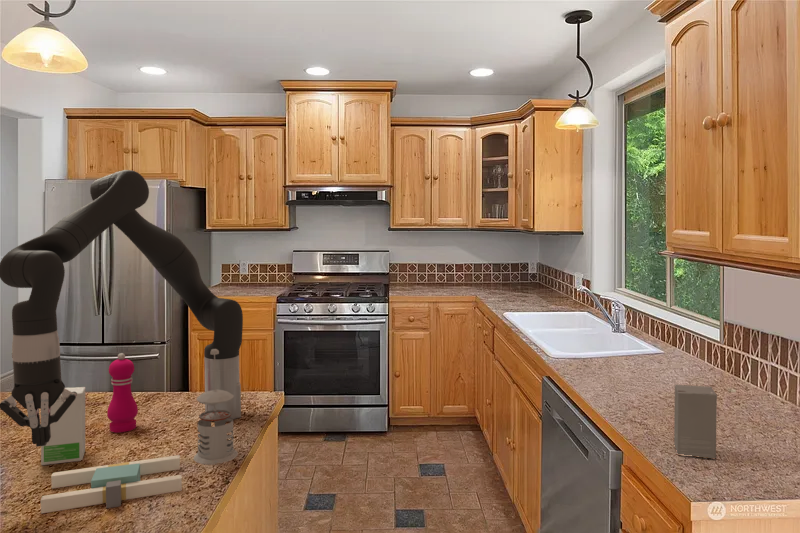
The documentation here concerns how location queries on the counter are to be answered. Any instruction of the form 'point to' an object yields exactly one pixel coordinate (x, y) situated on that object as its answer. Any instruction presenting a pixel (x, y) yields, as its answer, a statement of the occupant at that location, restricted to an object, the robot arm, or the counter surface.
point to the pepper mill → (122, 396)
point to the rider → (116, 475)
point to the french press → (215, 428)
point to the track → (111, 485)
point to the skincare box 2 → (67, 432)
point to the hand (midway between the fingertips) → (41, 444)
